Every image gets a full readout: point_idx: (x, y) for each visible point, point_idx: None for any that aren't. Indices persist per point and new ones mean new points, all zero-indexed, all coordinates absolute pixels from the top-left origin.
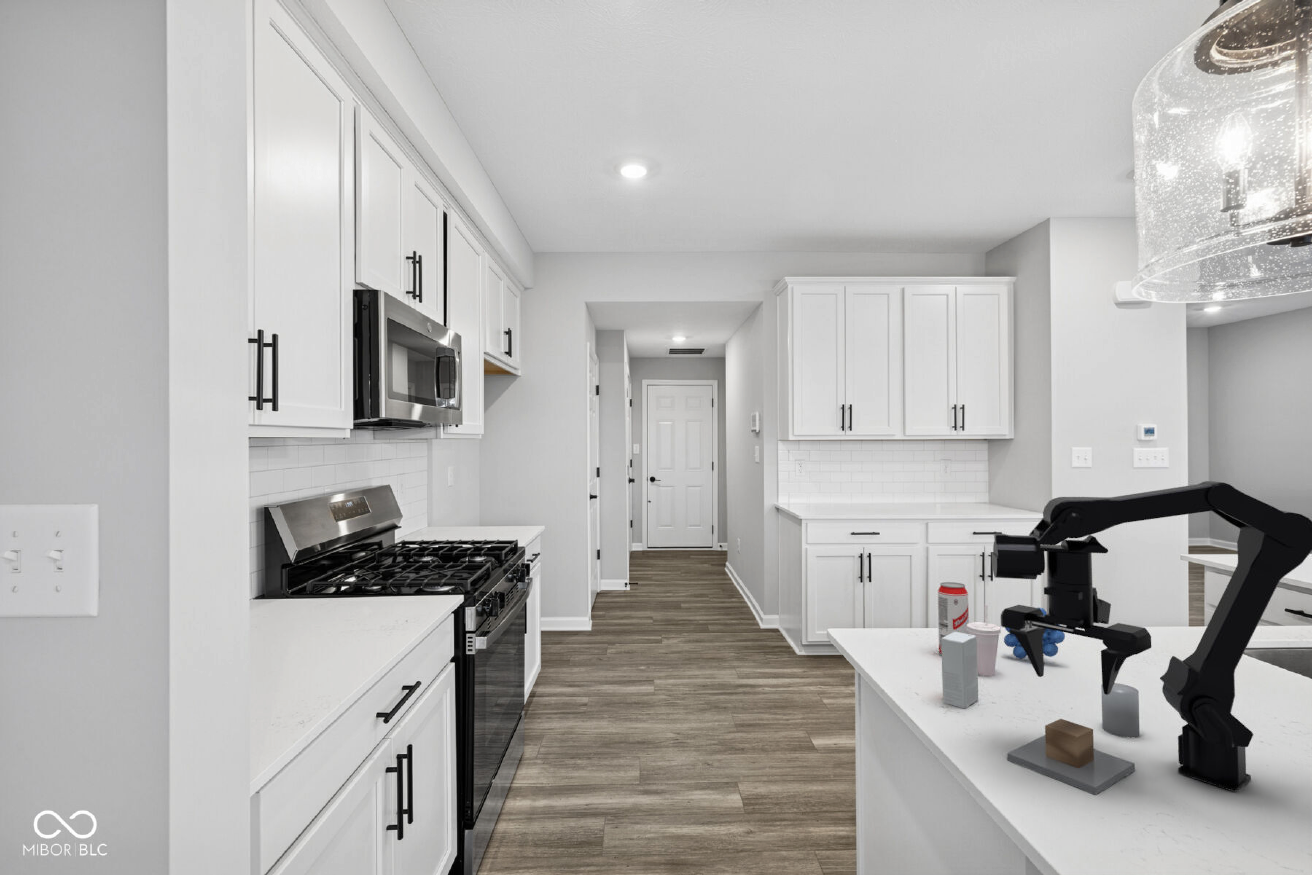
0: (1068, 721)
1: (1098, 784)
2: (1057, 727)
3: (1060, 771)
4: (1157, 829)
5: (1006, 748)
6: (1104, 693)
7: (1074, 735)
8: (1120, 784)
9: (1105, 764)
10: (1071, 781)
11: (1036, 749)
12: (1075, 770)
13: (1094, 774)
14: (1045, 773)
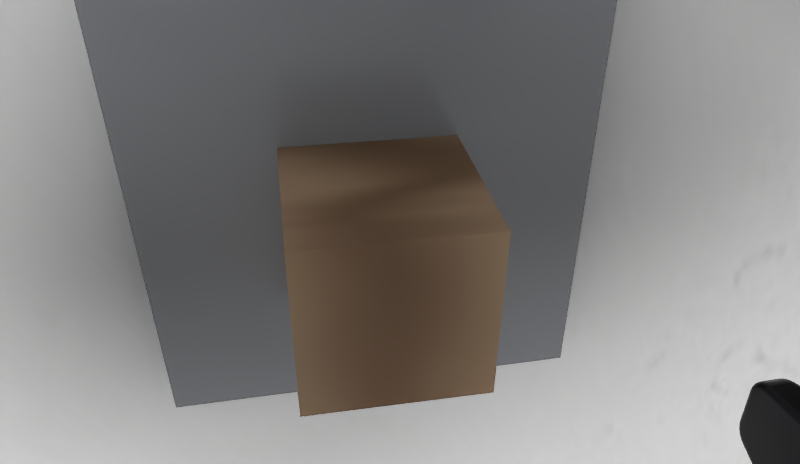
0: (344, 250)
1: (560, 330)
2: (357, 379)
3: None
4: (746, 360)
5: (80, 299)
6: (745, 439)
7: (473, 390)
8: (591, 181)
9: (516, 133)
10: None
11: (216, 270)
12: None
13: (519, 270)
14: None
